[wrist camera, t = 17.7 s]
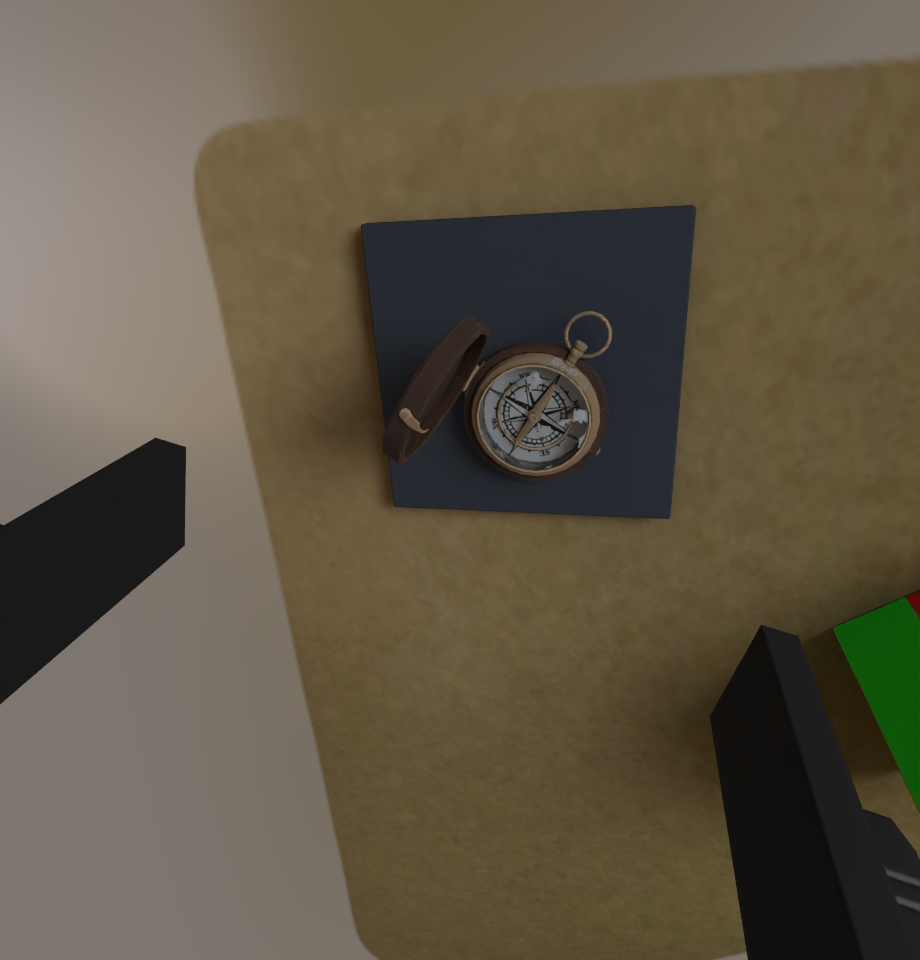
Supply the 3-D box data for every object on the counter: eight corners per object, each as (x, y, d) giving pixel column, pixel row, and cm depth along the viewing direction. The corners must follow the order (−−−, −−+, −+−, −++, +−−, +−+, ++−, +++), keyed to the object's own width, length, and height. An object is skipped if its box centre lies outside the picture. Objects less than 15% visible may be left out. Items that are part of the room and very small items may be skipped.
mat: (693, 204, 24) (696, 206, 24) (668, 511, 30) (670, 519, 29) (366, 223, 27) (360, 224, 27) (398, 499, 33) (393, 507, 32)
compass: (561, 497, 30) (546, 588, 23) (412, 408, 30) (356, 476, 23) (669, 351, 26) (686, 412, 20) (500, 247, 26) (462, 274, 19)
